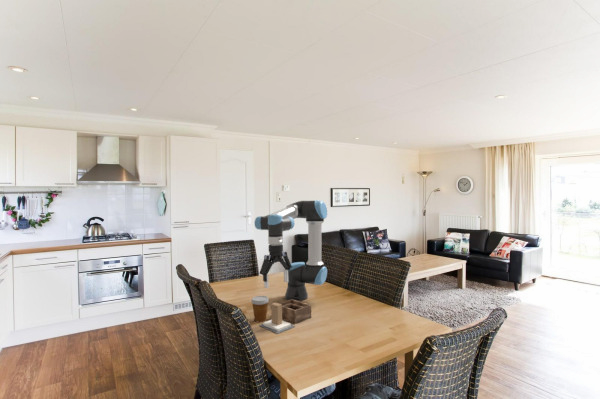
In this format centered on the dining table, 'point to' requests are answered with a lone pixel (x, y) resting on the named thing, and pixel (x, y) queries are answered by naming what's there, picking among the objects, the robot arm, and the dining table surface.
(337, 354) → the dining table surface
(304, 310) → the wooden box
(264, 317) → the disposable coffee cup
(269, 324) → the cover plate
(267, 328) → the rubber mat
